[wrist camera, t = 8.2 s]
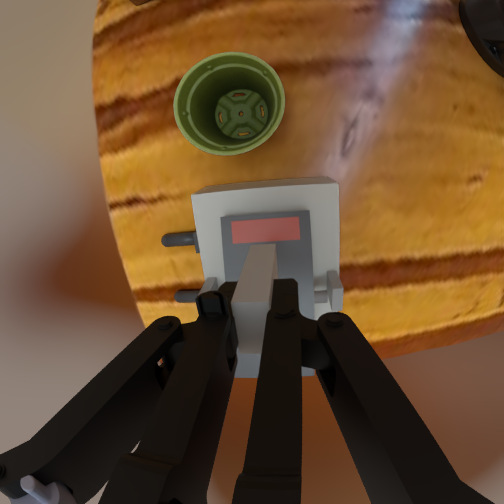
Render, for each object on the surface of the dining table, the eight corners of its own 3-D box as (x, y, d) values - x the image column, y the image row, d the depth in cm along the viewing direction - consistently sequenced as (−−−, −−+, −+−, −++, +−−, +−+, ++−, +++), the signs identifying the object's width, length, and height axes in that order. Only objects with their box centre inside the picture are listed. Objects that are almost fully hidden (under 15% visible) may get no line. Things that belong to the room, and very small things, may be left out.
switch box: (327, 176, 30) (347, 189, 21) (328, 325, 37) (338, 374, 28) (155, 193, 33) (114, 211, 24) (185, 328, 40) (163, 374, 31)
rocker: (321, 210, 26) (324, 209, 24) (325, 367, 27) (327, 375, 25) (211, 218, 27) (206, 218, 25) (225, 370, 28) (222, 377, 26)
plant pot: (195, 84, 28) (167, 66, 20) (276, 69, 26) (274, 43, 18) (207, 159, 31) (182, 164, 23) (289, 147, 29) (293, 146, 21)
